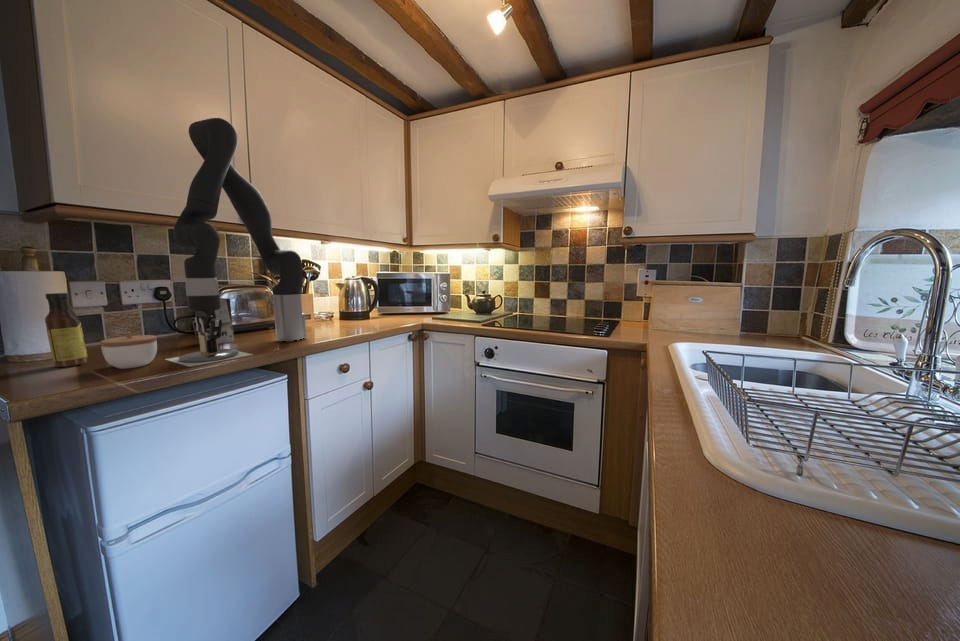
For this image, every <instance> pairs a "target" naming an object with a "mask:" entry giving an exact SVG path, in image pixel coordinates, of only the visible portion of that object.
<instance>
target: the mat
mask: <svg viewBox="0 0 960 641" xmlns="http://www.w3.org/2000/svg"><path fill="white" fill-rule="evenodd" d="M238 352H239V354H238V355H237V356H234V357H231V358H227V359H223V360H217V361H210V362H199V363H184V362H180V361H179V357H180V356H176V357H169V358H165V359H164V360H165V361H169V362H172V363H175V364H179V365H182V366H184V367H195V366H202V365H205V364H206V365H207V364H211V363H212V364H213V363H216V362H217V363H218V362H222V361H228V360H232V359H237V358H243V357H247V356H248V357H249V356H253V355H254V354H253V353H248V352H244V351H239V350H238Z"/></svg>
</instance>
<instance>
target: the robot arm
mask: <svg viewBox="0 0 960 641" xmlns="http://www.w3.org/2000/svg"><path fill="white" fill-rule="evenodd" d="M188 135H189V138H190V140H191V142H192V144H193V146H194V148H195V149H196V151H197V152H198V154H199V155H200V156H201V158H202V160H203V162H202V164H201V166H200V168H199V169H198V171H197V172H196V174H195V175H194V177H193V178H192V181H191V183H190V186H189V189H188V194H187V200H186V204H185V207H184V208H183V210H182V211H181V213H180V215H179V216H178V218H177V220H176V223H175V224H174V226H173V233H172V234H173V238H174V240H175V242H176V243H177V244H178V246H180V247H181V248H184V249H188V250H189V249H195V250H194V255H193V256H189V257H186V258H185V259H184V261H183V262H184V263H183V265H184V266H183V267H184V274H185V293H186V294H185V295H186V302H187V309H188V311H190V312H195V316H194V317H191V318H190V321H191V324H192V327H193V331H194V335H195V337H196V338H197V337H198V339H199V335H200V334H205V336H206V340H207V350H208V353H215V352H217V342H216V340H217V339H218V338H220V335H221V326H222V320H221V319H220V320H217V317H216V314H215V310H219V309H220V308H221V305H220V298H221V296H220V288H219V287H220V286H219V283H218V279H217V270H216V268H217V267H216V264H217V263H216V262H217V258H218V253H219V249H220V248H219V247H220V243H221V242H220V241H221V240H220V239H221V238H220V235H219V234H220V233H219V232H218V230H217V229H216V228H215V227H214V226H213V225H212V224H210V223H206V222H208V221H211V220H212V219H213V220H214V219H215V218H216V217H217V214H218V208H219V205H220V204H219V203H220V198H221V192H222V190H224V193H225V194H226V196H227V197H228V199H229V200H230V202H231V204H232V205H231V206H232V207H233V209H234V210H235V212H236V214H237V215H238V217H239V218H240V221H242V224H243V225H244V227H245V229H246V230H247V232H248V233H249V236H250V237H251V239H252V241H253V242H254V245H255V247H256V249H257V251H258V253H259V255H260V258H261V260H262V261H263V264H264V266H265V268H266V269H267V271H268V272H269V273H270V274H272V275H274V276H278V277H279V281H278V282H277V284H276V285H274V286H273V287H272V288H271V289H272V303H273V314H274V325H275V327H274V328H275V339H276V341H277V342H282V341H286V342H295V341H294V340H297V341H301V340H300V339H302V340H303V338H304V339H307V329H306V328H307V327H306V314H305V313H304V312H303V304H302V294H301V293H302V291H301V290H302V287H303V262H302V258H301V256H300V255H299V254H298V253H297V252H296V251H295V250H291V249H289V250H288V249H286V250H282V249H280V246H278V243H277V241H276V240H275V238H274V236H273V231H272V214H271V211H270V209H269V206H268V205H267V203H266V201H265V199H264V197H263V196H262V193H261V192H260V191H259V190H258V188H256V187H255V186H254V185H253V184H252V183H251V182H250V181H248V180H247V179H246V178H245V177H244V176H243V175H241V174H240V173H239V172H238V171H237V169H236V168H235V167H234V166H233V164H232V160H233V158H234V155H235V154H236V151H237V148H238V144H239V136H238V133H237V130H236V129H235V128H234V126H233V125H232V124H231V123H230V122H229V121H227V120H226V119H224V118H221V117H212V118H211V117H209V118H206V119H202V120H199V121H195V122H193V123H191V124H190V125H189V127H188Z"/></svg>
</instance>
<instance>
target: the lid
mask: <svg viewBox="0 0 960 641" xmlns="http://www.w3.org/2000/svg"><path fill="white" fill-rule="evenodd" d="M198 339H199V340H198V341H199V348H200V349H199V350H200V351H194V352H190V353H189V352H188V353H186V354H182V355H181V356H178V357H179V361H180V362H184V363H199V362H210V361H217V360H223V359H227V358H231V357H234V356H237V355H238V354H239V352H240V351H239V350H238V349H235V348H234V349H233V348H219V344H218V343H217V352H215V353H208V350H207V340H206V336H205V334H200V335H199V338H198ZM216 342H217V340H216ZM238 351H239V352H238ZM223 361H224V360H223Z"/></svg>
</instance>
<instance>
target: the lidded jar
mask: <svg viewBox="0 0 960 641" xmlns="http://www.w3.org/2000/svg"><path fill="white" fill-rule="evenodd" d="M157 340H158V337H157V336H156V335H152V334H146V335H145V334H142V335H141V334H140V335H132V332H129V331H128V332H125V336H120V337H112V338H106V339H103V340H101V341H100V342H99V344H100V346H101V353H102V355H103V357H104V360H105V361H106V362H107V363H108V364H109V365H111V367H114V368H117V369H122V370H123V369H132V368H139V367H144V366H147V365H149V364H150V363H152V361H154V359H155V357H156V355H157V352H158V342H157Z"/></svg>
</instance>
